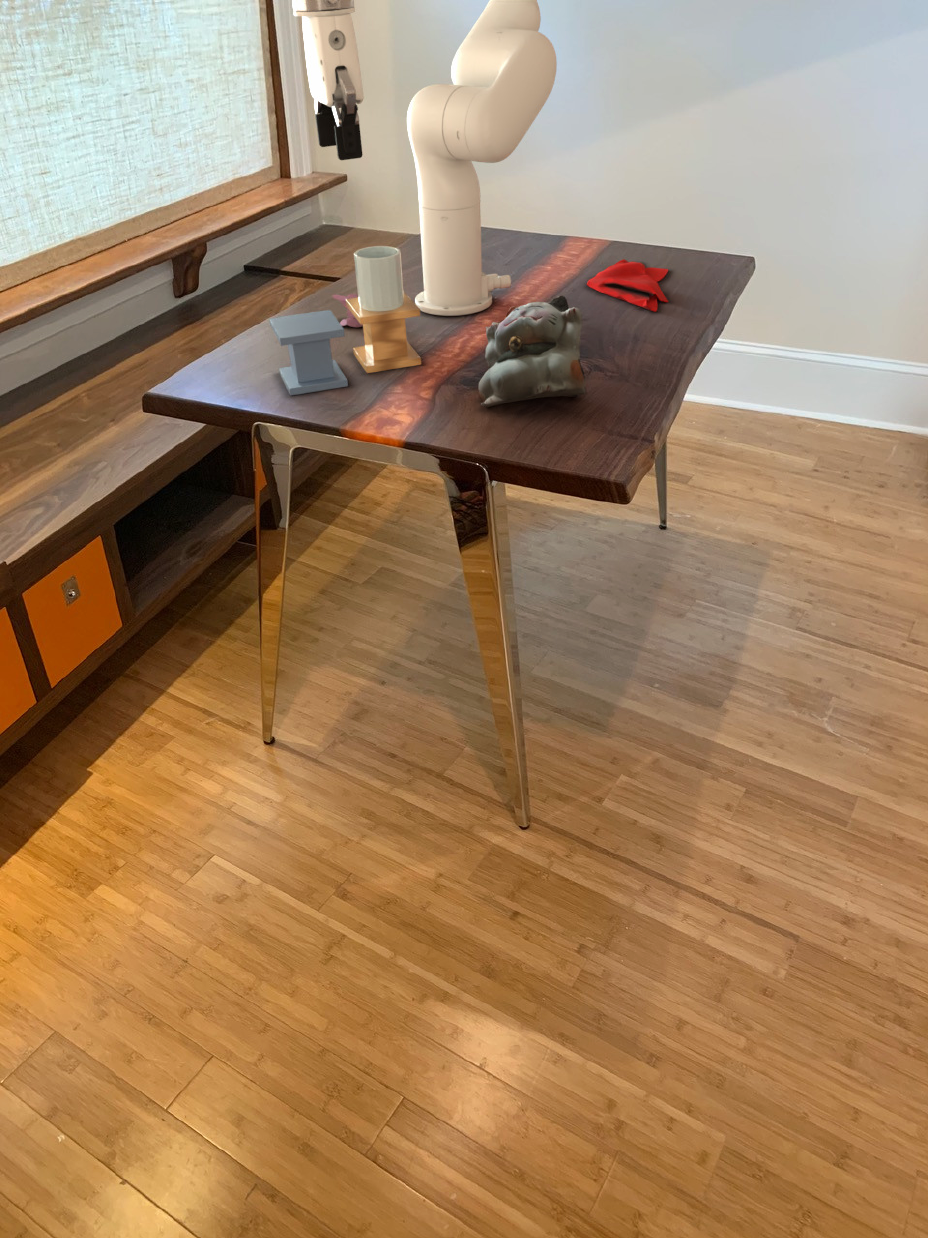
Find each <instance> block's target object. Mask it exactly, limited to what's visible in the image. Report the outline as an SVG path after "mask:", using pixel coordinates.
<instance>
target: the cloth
mask: <svg viewBox="0 0 928 1238" xmlns="http://www.w3.org/2000/svg"><path fill="white" fill-rule="evenodd" d="M668 272H669V269H668V268H659V267H646V266H645V264H643V263H642V262H637V261H628V260H626V259H625V258H623V259H621V260H619V261H617V262H615V263H614V264H612V265H609V266H608V267H607V268H605V269H604V270H602V271H599V272H598V273H596V275H594V276H593V277H592V278H590V279H588V280H587V283H586V286H588V287H589V288H590V289H592V290H595V291H597V292H599V293H602V294H604V295H607V296H610V297H613V298H615V299H618V300H620V301H621V300H622V301H624V302H627V303H630V304H632V305H635V306H637V307H640V308H643V309H645V310H648V311H651V312H657V311H658V300H659V301H661V302H664V303H669V300H668V299H667V297H666V296H665V294H664V293H663V291H662V289H661V287H660V285H659V283H658V282H660V281H662V280H663V279H664V278H665V277H666V275H667V274H668Z"/></svg>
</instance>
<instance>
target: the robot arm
mask: <svg viewBox="0 0 928 1238" xmlns="http://www.w3.org/2000/svg"><path fill="white" fill-rule="evenodd" d="M291 2H292V9H293V16H294V17H298V18H299V17H301V22H302V33H303V34H302V35H303V43H304V56H305V65H306V72H307V79H308V85H309V90H310V94H311V97H312V98H313V99H314V104H313V108H314V111H315V114H314V115H315V124H316V125H315V126H316V131H317V139H318V140H317V141H318V145H319V147H320V148H327V147H333V146H334V147H335V146H336V151H337V152H336V154H337V158H338V159H339V160H340V161H346V160H347V161H348V160H355V159H361V158H362V157H363V147H362V145H363V144H362V136H361V127H360V125H361V124H360V117H359V113H358V111H359V107H358V105H361V104H362V103H363V101H364V99H365V98H364V97H365V96H364V89H363V82H362V80H363V79H362V73H361V66H360V65H361V64H360V58H359V51H358V45H357V44H358V43H357V39H356V33H355V28H354V23H353V19H352V15H351V14H352V13H355V12H356V7H355V0H292V1H291ZM541 21H542V20H541V10H540V6H539V2H538V1H537V0H488V3H487V4H486V6H485V8H484V10H483V11H482V12H481V14H480V16H479V17H478V19H477V20H476V22H474V25H473V26H472V27H471V29H470V30H469V32H468V33H467V35H466V36H465V38H464V39H463V41H462V42H461V44H460V45H459V47H458V49H457V50H456V53H455V54H454V56H453V59H452V63H451V69H450V76H451V81H452V84H449V83H436V84H431V85H427V86H425V87H423V88H422V89H420V90H418V92H416V93H415V94H414V96H413V97H412V99H411V101H410V103H409V105H408V109H407V112H406V113H407V115H406V127H407V134H408V139H409V142H410V148H411V151H412V155H413V160H414V165H415V172H416V180H417V181H416V182H417V192H418V193H417V194H418V211H419V212H418V213H419V227H420V228H419V229H420V243H421V244H420V245H421V246H420V247H421V262H422V275H423V276H422V278H423V279H422V280H423V291H420V292H419V293H418V294H417V295H416V296H415V298H414V303H415V304H416V305H417V306H418V307H419V308H420V312H423V313H425V314H429V315H433V316H442V317H458V316H466V315H472V314H476V313H480V312H482V311H485V310H487V309H488V308H489V307H490V306H491V305H492V304H493V295H492V293H491V292H493V291H494V289H506V288H511V286H512V278H511V276H510V275H509V274H504V275H498V273H490V274H486V273H485V272H484V271H483V264H482V263H483V261H482V258H483V257H482V222H481V220H482V219H481V216H482V215H481V187H480V181H479V177H478V173H477V171H476V169H475V166H474V164H473V162H477V163H486V164H495V163H500V162H503V161H504V160H506V159H508V157H510V156H511V155H512V153H514V151H515V150H516V149H517V147H518V146H519V144H520V143H521V141H522V140H523V138H524V136H525V135H526V134H527V133H528V131H529V129H530V128H531V126H532V124H533V123H534V121H535V120H536V118H537V116H538V115H539V113H540V112H541V110H542V109H543V107H544V106H545V104H546V102H547V101H548V99H549V97H550V95H551V93H552V90H553V87H554V84H555V80H556V75H557V66H558V65H557V64H558V62H557V54H556V50H555V47H554V44H553V43H552V41H551V40H550V39H549V38H548V37H547V36H546V35H545V34H543V33H542V32H540V28H541Z"/></svg>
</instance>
